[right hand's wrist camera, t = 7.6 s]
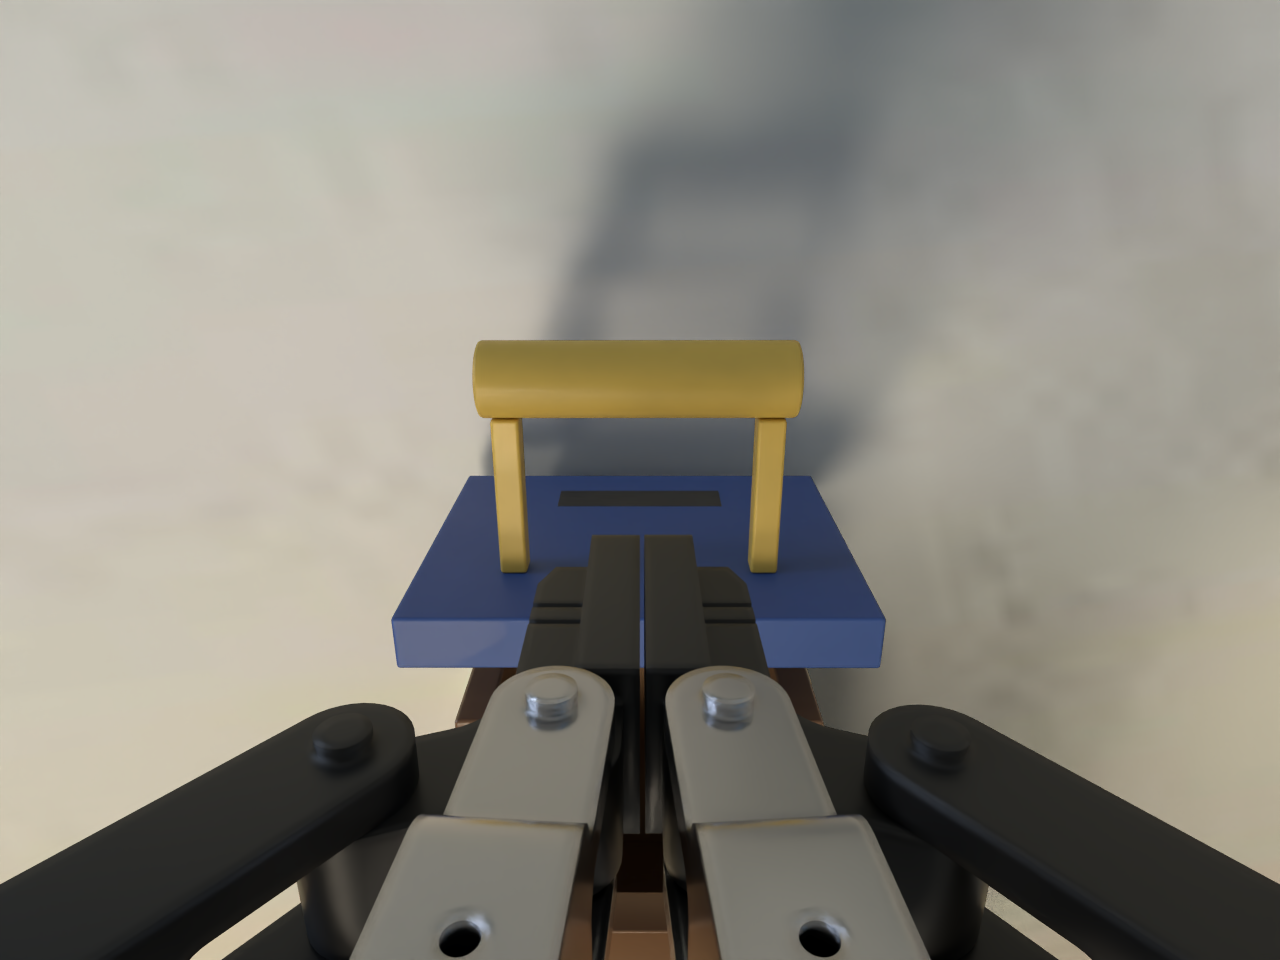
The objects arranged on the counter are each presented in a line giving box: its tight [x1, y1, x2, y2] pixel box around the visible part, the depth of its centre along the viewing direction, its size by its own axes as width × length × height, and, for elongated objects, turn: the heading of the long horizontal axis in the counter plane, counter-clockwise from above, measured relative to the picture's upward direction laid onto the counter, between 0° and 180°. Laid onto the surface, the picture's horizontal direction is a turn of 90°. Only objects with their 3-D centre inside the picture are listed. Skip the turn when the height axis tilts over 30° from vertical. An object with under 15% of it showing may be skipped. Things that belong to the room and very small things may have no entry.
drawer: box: [391, 340, 886, 892], centre depth 22 cm, size 19×10×8 cm, turn 0°
